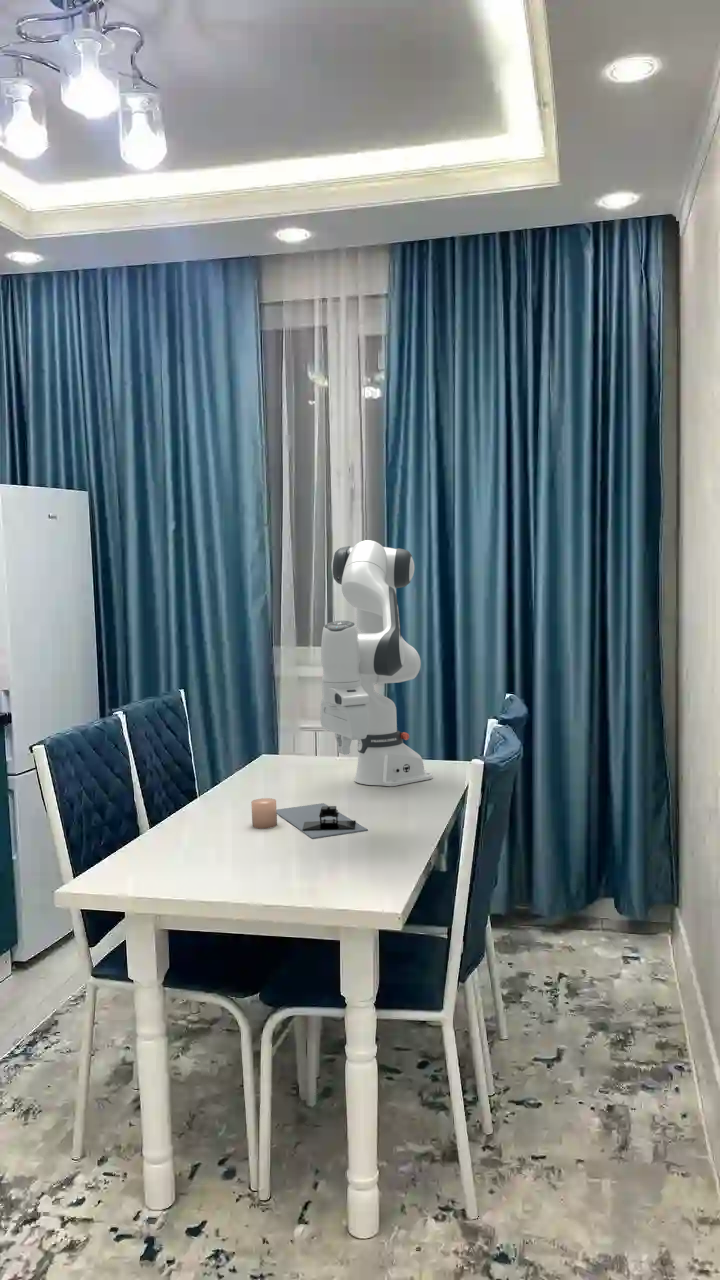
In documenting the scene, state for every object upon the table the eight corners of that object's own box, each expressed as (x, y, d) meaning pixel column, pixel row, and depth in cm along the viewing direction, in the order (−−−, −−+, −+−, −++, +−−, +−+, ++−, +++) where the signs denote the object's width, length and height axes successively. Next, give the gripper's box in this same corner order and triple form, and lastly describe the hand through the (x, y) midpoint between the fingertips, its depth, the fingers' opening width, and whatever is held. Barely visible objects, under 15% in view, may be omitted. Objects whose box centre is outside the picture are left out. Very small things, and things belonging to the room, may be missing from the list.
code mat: (323, 804, 263) (323, 802, 263) (367, 830, 236) (367, 829, 236) (272, 811, 258) (272, 809, 258) (312, 838, 231) (312, 837, 231)
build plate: (302, 831, 237) (301, 812, 236) (304, 823, 244) (303, 804, 244) (354, 829, 236) (353, 810, 236) (355, 821, 244) (354, 802, 243)
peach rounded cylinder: (272, 820, 248) (271, 797, 248) (280, 826, 243) (279, 802, 242) (249, 824, 246) (248, 800, 245) (256, 830, 240) (255, 805, 240)
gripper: (312, 689, 235) (314, 747, 237) (345, 699, 217) (347, 762, 218) (337, 687, 238) (339, 745, 239) (372, 697, 219) (374, 759, 220)
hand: (343, 753), depth 228 cm, fingers closed
